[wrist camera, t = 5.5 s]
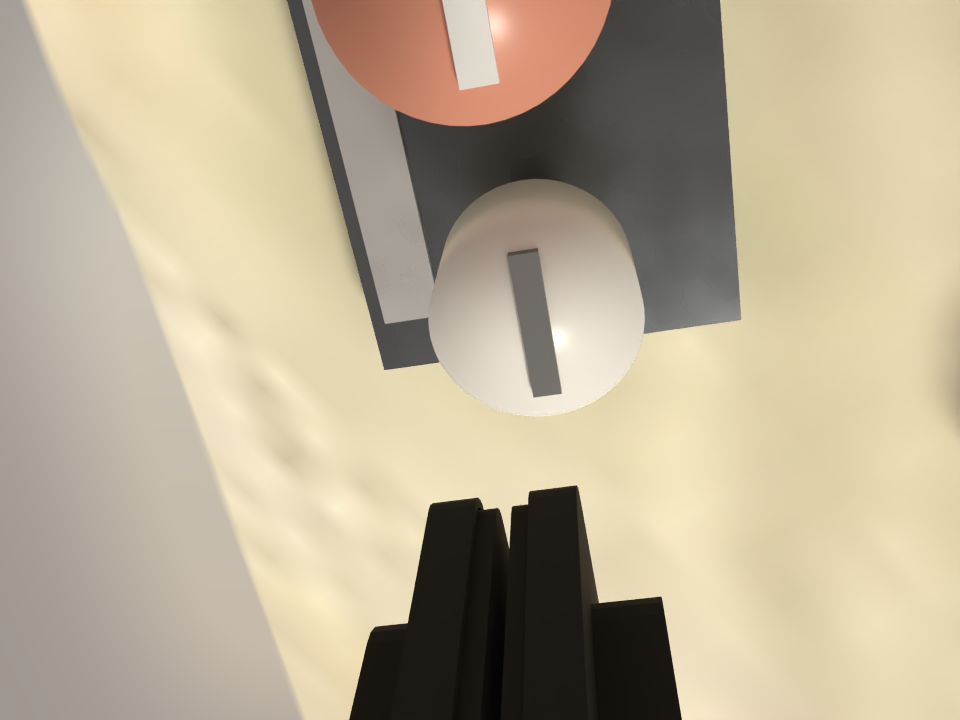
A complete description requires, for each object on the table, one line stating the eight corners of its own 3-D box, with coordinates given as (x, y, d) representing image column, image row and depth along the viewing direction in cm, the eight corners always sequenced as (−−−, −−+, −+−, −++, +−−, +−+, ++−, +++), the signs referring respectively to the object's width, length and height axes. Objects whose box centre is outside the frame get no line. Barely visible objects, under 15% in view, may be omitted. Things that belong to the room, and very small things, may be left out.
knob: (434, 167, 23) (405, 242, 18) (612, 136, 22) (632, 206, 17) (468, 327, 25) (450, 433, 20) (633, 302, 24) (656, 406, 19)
